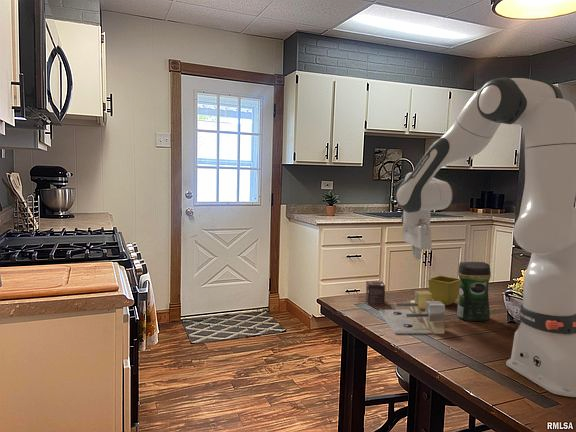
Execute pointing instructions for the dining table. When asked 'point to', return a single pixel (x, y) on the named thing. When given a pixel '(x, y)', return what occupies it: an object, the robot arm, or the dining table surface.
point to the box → (375, 292)
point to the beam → (431, 315)
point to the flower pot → (444, 289)
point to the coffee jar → (473, 291)
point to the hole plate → (403, 322)
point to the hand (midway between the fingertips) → (416, 258)
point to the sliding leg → (419, 300)
